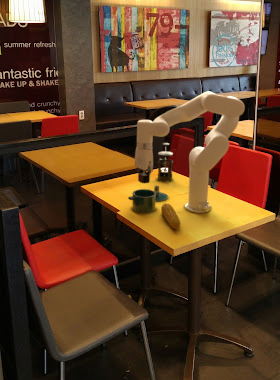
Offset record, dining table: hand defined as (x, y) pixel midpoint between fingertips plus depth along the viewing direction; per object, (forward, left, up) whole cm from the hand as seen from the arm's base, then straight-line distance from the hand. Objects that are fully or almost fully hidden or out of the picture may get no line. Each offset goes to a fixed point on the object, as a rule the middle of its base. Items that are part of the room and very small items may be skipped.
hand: (143, 181), depth 195 cm
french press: (+32, -36, -15) cm, 50 cm away
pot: (0, 0, -15) cm, 15 cm away
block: (0, 0, 0) cm, 0 cm away
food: (-19, -3, -15) cm, 24 cm away
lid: (+9, -14, -14) cm, 22 cm away
